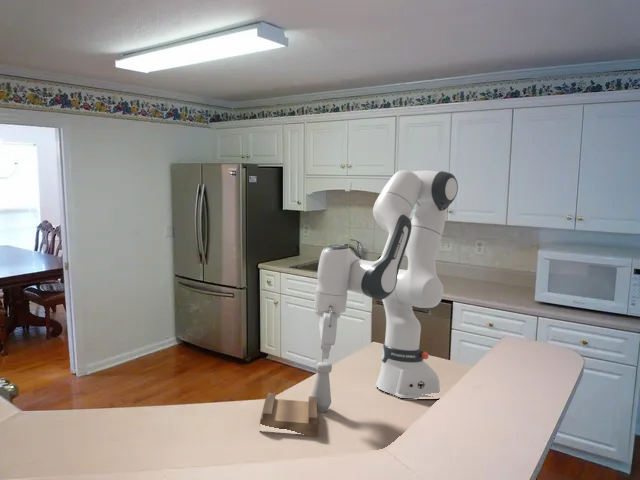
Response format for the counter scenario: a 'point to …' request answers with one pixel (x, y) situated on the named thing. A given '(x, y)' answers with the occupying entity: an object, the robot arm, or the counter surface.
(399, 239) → the robot arm
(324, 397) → the salt shaker
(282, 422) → the display stand
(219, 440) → the counter surface
